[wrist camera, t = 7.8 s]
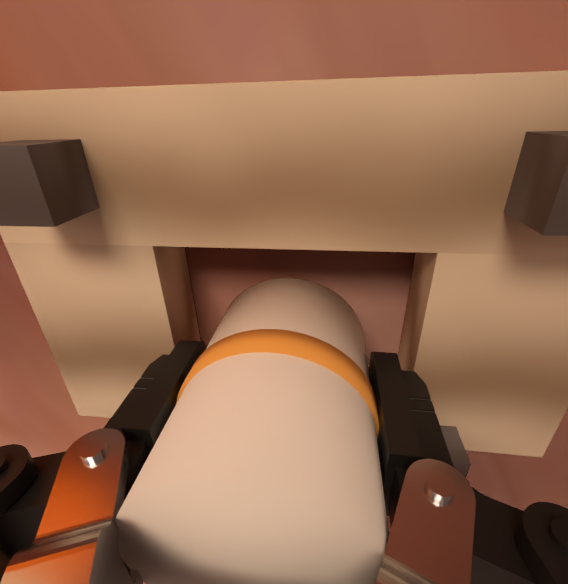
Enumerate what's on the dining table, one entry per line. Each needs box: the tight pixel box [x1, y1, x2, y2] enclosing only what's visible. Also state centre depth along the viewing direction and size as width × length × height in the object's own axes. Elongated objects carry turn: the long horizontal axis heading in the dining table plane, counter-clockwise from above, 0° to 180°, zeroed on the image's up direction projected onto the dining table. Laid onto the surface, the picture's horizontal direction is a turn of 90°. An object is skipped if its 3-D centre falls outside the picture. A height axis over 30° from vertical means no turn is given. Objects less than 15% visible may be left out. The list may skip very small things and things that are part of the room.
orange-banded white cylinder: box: [115, 278, 389, 584], centre depth 9 cm, size 5×5×7 cm
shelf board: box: [0, 71, 568, 478], centre depth 12 cm, size 13×20×4 cm, turn 91°
